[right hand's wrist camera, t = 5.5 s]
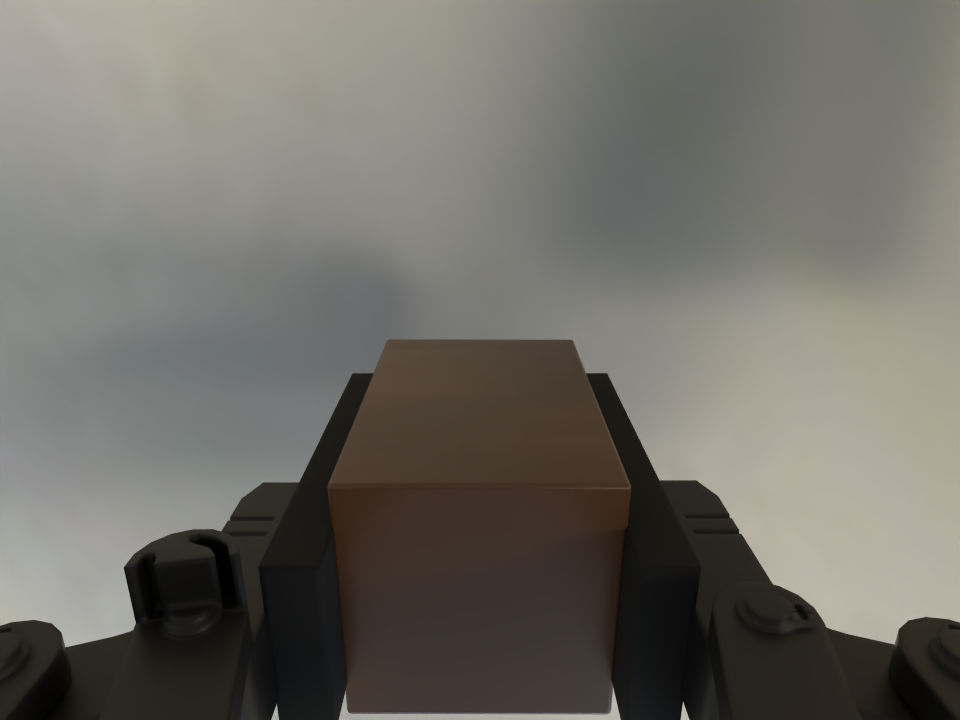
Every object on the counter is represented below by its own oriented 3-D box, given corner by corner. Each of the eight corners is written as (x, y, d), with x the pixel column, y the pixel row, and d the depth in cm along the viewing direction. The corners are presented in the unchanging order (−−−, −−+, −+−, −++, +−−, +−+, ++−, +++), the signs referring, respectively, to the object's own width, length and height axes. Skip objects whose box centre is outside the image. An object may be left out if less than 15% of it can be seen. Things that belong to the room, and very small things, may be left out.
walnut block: (573, 338, 14) (632, 485, 9) (564, 499, 16) (611, 716, 10) (386, 338, 14) (325, 485, 9) (394, 499, 16) (346, 716, 10)
